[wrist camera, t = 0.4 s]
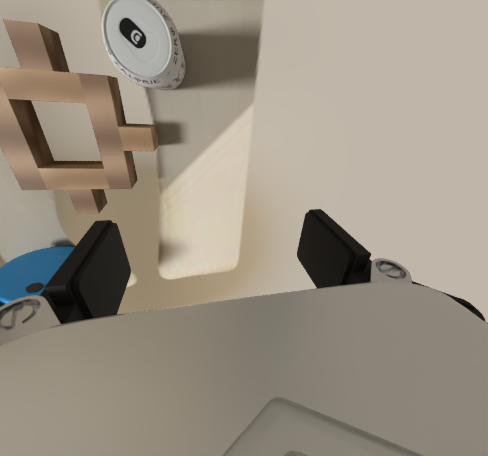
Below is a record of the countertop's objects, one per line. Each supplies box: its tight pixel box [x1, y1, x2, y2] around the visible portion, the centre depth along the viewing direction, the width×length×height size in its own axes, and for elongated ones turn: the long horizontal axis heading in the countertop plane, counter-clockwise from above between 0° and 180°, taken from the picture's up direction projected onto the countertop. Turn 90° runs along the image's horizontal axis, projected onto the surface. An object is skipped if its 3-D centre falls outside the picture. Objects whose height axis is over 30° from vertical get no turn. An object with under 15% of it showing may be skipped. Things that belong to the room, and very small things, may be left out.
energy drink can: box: [102, 0, 185, 90], centre depth 23 cm, size 6×6×15 cm
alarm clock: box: [0, 246, 75, 307], centre depth 34 cm, size 13×6×15 cm, turn 78°
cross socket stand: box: [0, 19, 158, 214], centre depth 29 cm, size 22×22×4 cm
